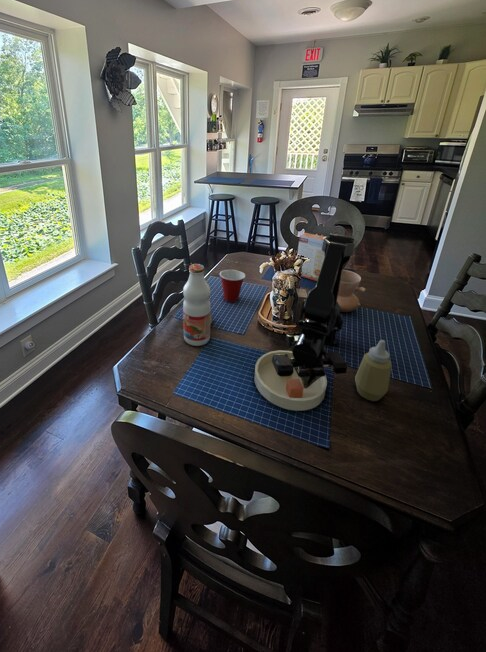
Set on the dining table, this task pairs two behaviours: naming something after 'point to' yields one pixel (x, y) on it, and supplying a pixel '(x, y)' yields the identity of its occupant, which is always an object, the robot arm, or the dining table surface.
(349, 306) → the ceramic jug
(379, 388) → the squeeze bottle
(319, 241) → the cracker box
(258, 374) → the bowl
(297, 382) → the terracotta block
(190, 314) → the fruit juice
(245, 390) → the dining table surface
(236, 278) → the plastic cup
